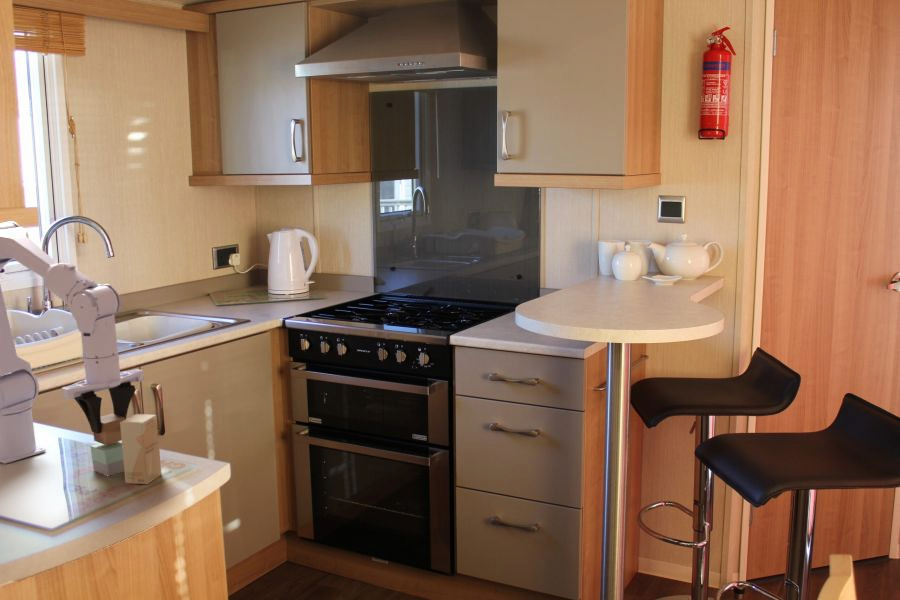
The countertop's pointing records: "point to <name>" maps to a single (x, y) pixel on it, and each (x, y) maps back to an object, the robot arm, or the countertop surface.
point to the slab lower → (109, 467)
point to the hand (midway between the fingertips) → (108, 428)
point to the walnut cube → (109, 429)
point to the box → (140, 448)
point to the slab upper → (107, 452)
